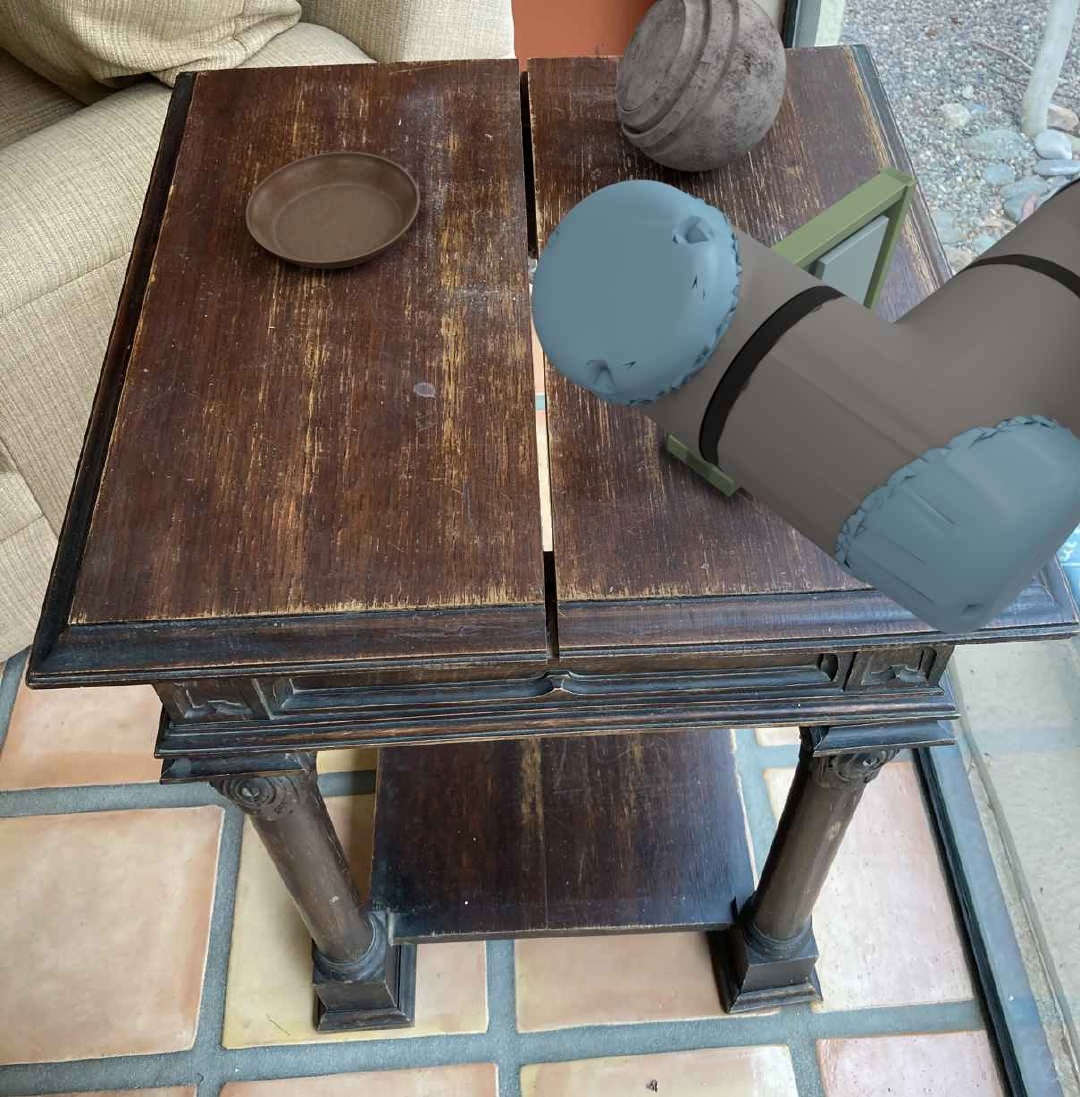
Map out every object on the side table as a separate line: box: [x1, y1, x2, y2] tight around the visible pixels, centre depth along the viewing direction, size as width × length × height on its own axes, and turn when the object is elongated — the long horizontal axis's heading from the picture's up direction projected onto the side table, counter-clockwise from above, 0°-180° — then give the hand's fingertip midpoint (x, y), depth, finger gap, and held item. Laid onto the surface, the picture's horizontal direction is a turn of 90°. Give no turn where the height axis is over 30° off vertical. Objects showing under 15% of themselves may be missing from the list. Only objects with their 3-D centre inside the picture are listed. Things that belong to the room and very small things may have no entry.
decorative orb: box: [615, 0, 787, 172], centre depth 91 cm, size 15×14×15 cm
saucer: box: [245, 151, 421, 270], centre depth 90 cm, size 15×15×3 cm
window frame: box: [666, 164, 918, 497], centre depth 71 cm, size 6×17×16 cm, turn 132°
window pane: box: [814, 215, 889, 305], centre depth 70 cm, size 10×7×13 cm, turn 42°
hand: (889, 418), depth 68 cm, fingers closed
